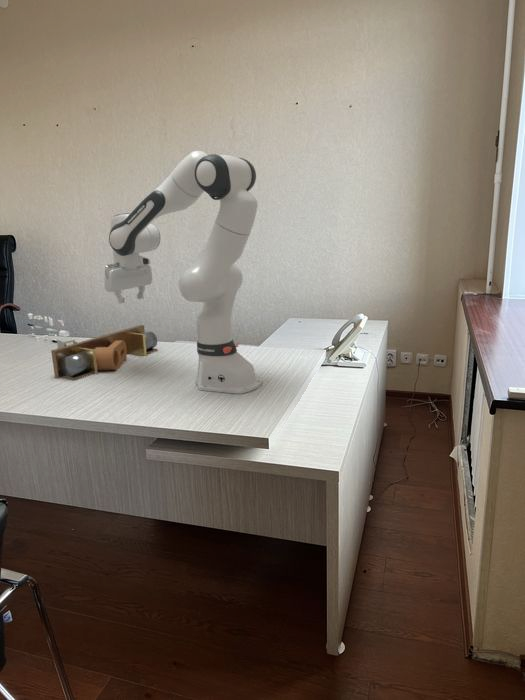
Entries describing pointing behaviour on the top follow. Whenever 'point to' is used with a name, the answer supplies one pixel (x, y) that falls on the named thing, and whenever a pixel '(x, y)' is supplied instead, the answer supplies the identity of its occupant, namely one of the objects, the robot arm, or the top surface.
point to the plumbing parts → (61, 332)
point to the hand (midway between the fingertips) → (131, 300)
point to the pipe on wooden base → (82, 355)
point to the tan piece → (111, 356)
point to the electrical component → (65, 342)
